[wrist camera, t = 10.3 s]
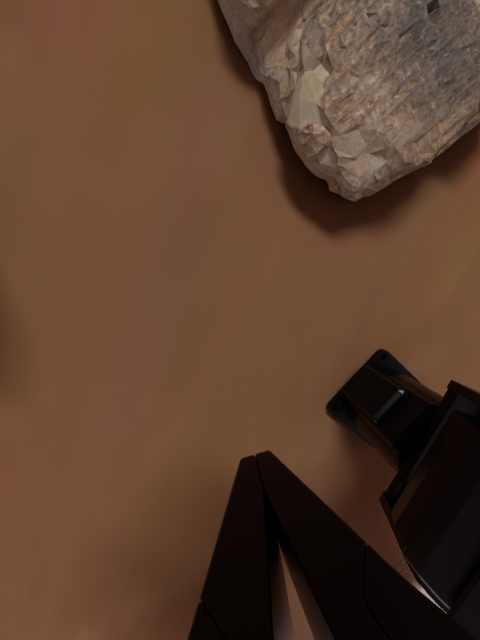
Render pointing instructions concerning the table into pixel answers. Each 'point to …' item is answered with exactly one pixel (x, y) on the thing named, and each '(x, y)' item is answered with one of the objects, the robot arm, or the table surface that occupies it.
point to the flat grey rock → (364, 81)
